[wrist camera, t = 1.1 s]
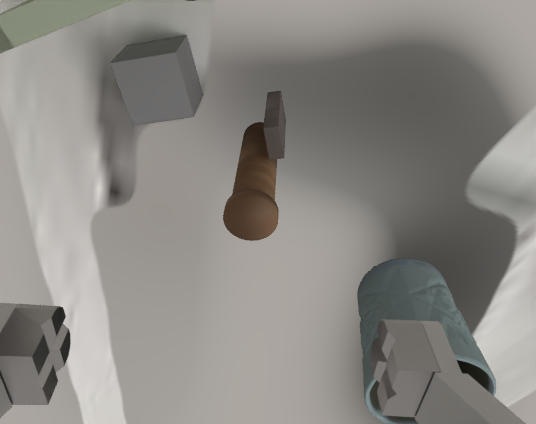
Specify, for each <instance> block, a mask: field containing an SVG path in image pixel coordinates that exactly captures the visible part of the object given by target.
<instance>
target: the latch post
mask: <svg viewBox="0 0 536 424" xmlns="http://www.w3.org/2000/svg"><path fill="white" fill-rule="evenodd" d="M285 121H286V119H285V113H284V107H283V101H282V95H281V91H276V92H269V93H268V95H267V103H266V111H265V119H264V123H262V122H258V123H254V124H252V125H250V126H249V127H248V128H247V129H246V131H245V133H244V137H243V142H242V147H241V153H240V158H239V163H238V168H237V173H236V178H235V183H234V189H233V194H232V196H231V197H230V198H229V199H228V201H227V203H226V205H225V210H224V215H223V220H224V224H225V226H226V228H227V229H228V230H229V231H230V232H231V233H232V234H233V235H234V236H236V237H238V238H241V239H244V240H251V241H252V240H260V239H263V238H266V237H268V236H269V235H271V234H272V233H273V232H274V230H275V229H276V227H277V224H278V207H277V204H276V202H275V201H274V200H275V184H276V168H277V159H281V158H284V148H285V123H286V122H285Z"/></svg>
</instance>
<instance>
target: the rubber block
mask: <svg viewBox="0 0 536 424" xmlns="http://www.w3.org/2000/svg"><path fill="white" fill-rule="evenodd" d="M110 65H111V68H112V70H113V73H114V76H115V78H116V81H117V84H118V87H119V89H120V92H121V95H122V97H123V100H124V103H125V105H126V108H127V111H128V113H129V116H130V119H131V121H132V124H133V125H140V124H147V123H154V122H161V121H168V120H175V119H182V118H189V117H194V115H195V113H196V111H197V108H198V106H199V103H200V101H201V99H202V96H203V93H202V90H201V86H200V82H199V78H198V75H197V71H196V67H195V63H194V60H193V56H192V52H191V48H190V45H189V41H188V37H187V35H185V36H179V37H174V38H168V39H162V40H156V41H150V42H144V43H138V44H132V45H127V46H126V47H125V48H124V49H123V50H122V51H121V52H120V53H119V54H118V55H117V56H116V57H115V58H114V60H113V61H112V62H111V63H110Z"/></svg>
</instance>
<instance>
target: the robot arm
mask: <svg viewBox="0 0 536 424" xmlns="http://www.w3.org/2000/svg"><path fill="white" fill-rule="evenodd" d="M65 317H66V316H65V313H64V309H63V307H59V306H45V305H30V304H9V303H0V418H1V417H2V416H3V415H4V414H5V413H6V412H7V411H8V410H9V409H10V408H12V405H48V404H49V401H50V399H51V397H52V394H53V392H54V389H55V387H56V385H57V382H58V380H57V376H56V372H57V371H58V370H60V369H61V368H62V367H63V366H64V365H65V363H66V360H67V358H68V355H69V349H70V332H69V329H68V328H67V327H66V326H65V325H64V324H63V321H64V319H65ZM377 332H378V336H379V337H378V338H376V339H375V340H374V341H373V344H372V348H371V369H372V373H373V377H374V378H375V379H376V380H377V381H378V382H379V386H378V390H377V395H378V399H379V404H380V408H381V412H382V415H385V416H402V417H415V420H416V421H417V422H418V423H419V424H526V423H524V422H523V421H522V420H521V419H520V418H519V417H517V416H516V415H515V414H514V413H513V412H512V411H510V410H509V409H508V408H507V407H506V406H505V405H503V404H502V403H501V402H500V401H499V400H498V399H496V398H495V397H494V396H493V395H492V394H491V393H489V392H488V391H487V390H486V389H485V388H484V387H482V386H481V385H480V384H479V383H478V382H477V381H476V380H474V379H473V378H472V377H471V376H470V375H469V374H462V372H461V370H460V367H459V365H458V363H457V360H456V358H455V355H454V353H453V351H452V348H451V346H450V344H449V341H448V339H447V337H446V334H445V332H444V330H443V327H442V325H441V324H440V323H439V322H438V321H417V320H384V319H381V321H380V322H379V324H378V327H377Z"/></svg>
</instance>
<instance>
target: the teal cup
mask: <svg viewBox="0 0 536 424" xmlns="http://www.w3.org/2000/svg"><path fill="white" fill-rule="evenodd" d="M358 305H359V315H360V317H361V322H360V332H361V345H362V349H363V374H364V375H363V377H364V398H365V404H366V406H367V408H368V409H369V411H370V412H371V413H372V414H373V415H374V416H375V417H376V418H378V419H379V420H381V421H383V422H385V423H387V424H419V423H418V422H417V421H416V420H415V417H402V416H385V415H382V412H381V408H380V404H379V399H378V395H377V390H378V386H379V382H378V381H377V380H376V379H375V378H374V377H373V373H372V369H371V348H372V344H373V341H374V340H375V339H376V338H378V337H379V336H378V332H377V327H378V324H379V322H380V321H381V319H384V320H417V321H438V322H439V323H440V324H441V325H442V327H443V330H444V332H445V334H446V337H447V339H448V341H449V344H450V346H451V348H452V351H453V353H454V355H455V358H456V360H457V363H458V365H459V367H460V370H461V372H462V374H469V375H470V376H471V377H472V378H473V379H474V380H476V381H477V382H478V383H479V384H480V385H481V386H482V387H484V388H485V389H486V390H487V391H488V392H489V393H491V394H492V395H493V396H494V395H495V392H496V381H495V377H494V375H493V373H492V371H491V370H490V368H489V366H488V364H487V362H486V360H485V358H484V357H483V355H482V353H481V351H480V349H479V348H478V346H477V344H476V342H475V340H474V338H473V336H472V334H471V333H470V332H469V331H468V330H469V328H468V327H467V325H466V324H465V320H464V319H463V317H462V315H461V312H460V311H459V310H458V309H456V306H455V303H454V301H453V297H452V295H451V293H450V291H449V289H448V288H447V285H446V282H445V281H444V279H443V277H442V275H441V274H440V272H439V271H438V270H437V269H436V268H435V267H433V266H432V265H431V264H429V263H427V262H424V261H422V260H417V259H409V258H402V259H393V260H389V261H386V262H384V263H381V264H379V265H378V266H374V267H373V268H372V269H371V271H368V273H367V274H366V275H365V276H364V277H363V279H362V281H361V283H360V285H359V288H358Z"/></svg>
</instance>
